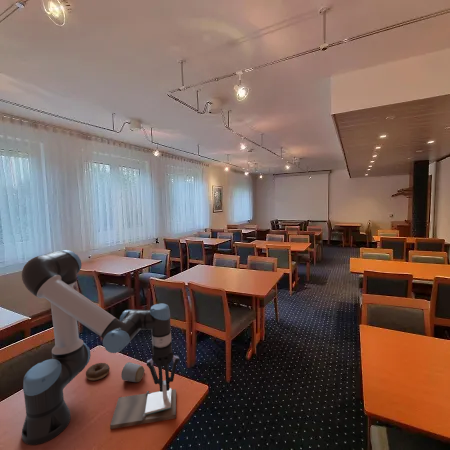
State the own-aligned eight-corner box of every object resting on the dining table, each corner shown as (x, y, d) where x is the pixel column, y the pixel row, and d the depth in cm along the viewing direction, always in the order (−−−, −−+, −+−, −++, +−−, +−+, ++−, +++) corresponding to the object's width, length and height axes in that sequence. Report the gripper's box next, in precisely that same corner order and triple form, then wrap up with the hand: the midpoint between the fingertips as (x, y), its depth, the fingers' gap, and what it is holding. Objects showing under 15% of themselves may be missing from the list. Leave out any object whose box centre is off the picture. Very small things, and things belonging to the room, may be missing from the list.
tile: (170, 405, 102) (171, 408, 102) (171, 387, 112) (171, 389, 112) (144, 413, 100) (145, 415, 100) (147, 394, 110) (148, 396, 110)
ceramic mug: (136, 386, 118) (136, 370, 118) (121, 383, 120) (120, 368, 120) (148, 372, 129) (148, 357, 128) (134, 369, 131) (133, 355, 130)
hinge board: (110, 429, 96) (110, 422, 96) (118, 400, 110) (118, 395, 110) (175, 418, 101) (175, 412, 100) (176, 392, 114) (175, 386, 114)
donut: (80, 379, 124) (80, 371, 124) (98, 366, 134) (97, 359, 134) (97, 384, 120) (97, 376, 120) (114, 370, 130) (114, 363, 130)
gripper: (144, 350, 99) (147, 407, 101) (178, 345, 101) (181, 401, 104) (146, 340, 107) (149, 393, 109) (178, 336, 109) (181, 388, 111)
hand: (165, 397), depth 106 cm, fingers closed
